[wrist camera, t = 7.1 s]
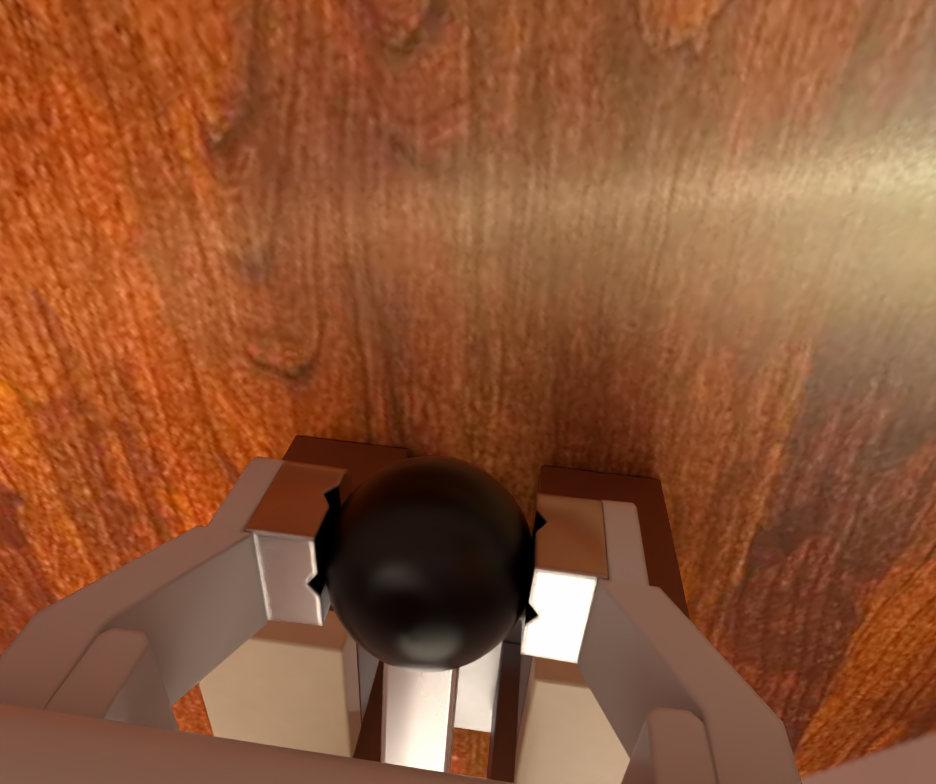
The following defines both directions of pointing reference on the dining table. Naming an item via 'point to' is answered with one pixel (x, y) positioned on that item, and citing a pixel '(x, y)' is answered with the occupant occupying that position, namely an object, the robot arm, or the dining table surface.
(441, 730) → the black ball knob lever
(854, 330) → the dining table surface
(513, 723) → the bracket
